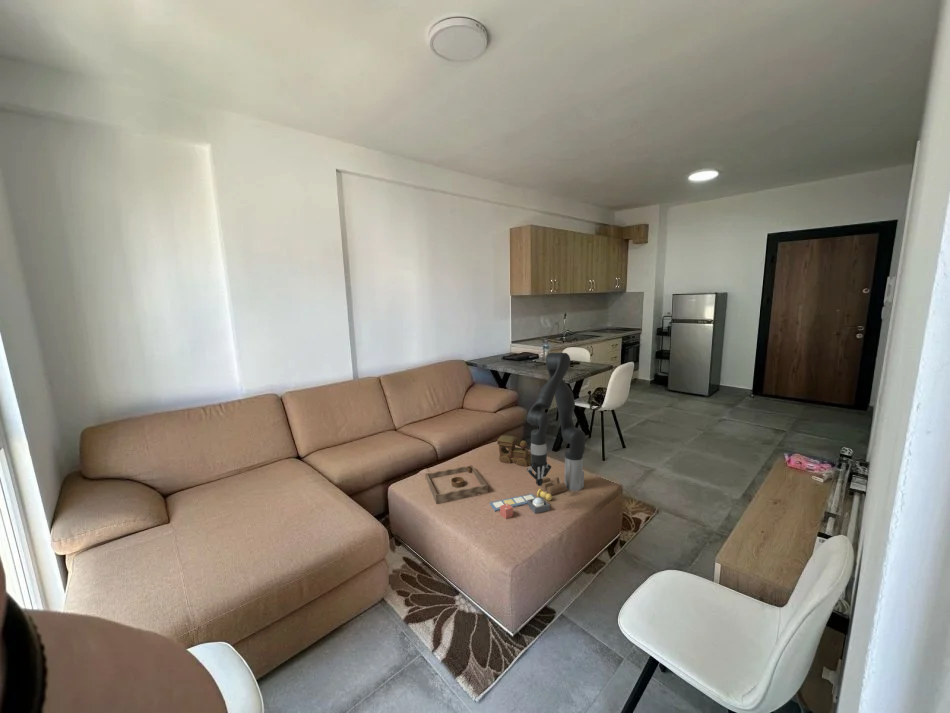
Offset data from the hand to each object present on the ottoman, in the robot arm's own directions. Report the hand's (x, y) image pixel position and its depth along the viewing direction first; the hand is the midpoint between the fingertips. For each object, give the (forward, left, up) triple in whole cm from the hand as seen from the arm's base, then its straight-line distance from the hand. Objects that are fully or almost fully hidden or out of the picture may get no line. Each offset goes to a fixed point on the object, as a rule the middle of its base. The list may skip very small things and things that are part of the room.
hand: (539, 485), depth 184 cm
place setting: (+27, -37, -13) cm, 47 cm away
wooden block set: (-10, -11, -8) cm, 17 cm away
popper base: (0, 0, -12) cm, 12 cm away
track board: (+9, -9, -12) cm, 18 cm away
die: (+17, 0, -12) cm, 21 cm away
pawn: (-5, -9, -10) cm, 14 cm away
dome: (0, 0, -11) cm, 11 cm away
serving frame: (+32, -35, -12) cm, 49 cm away
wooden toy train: (-10, -49, -12) cm, 51 cm away
